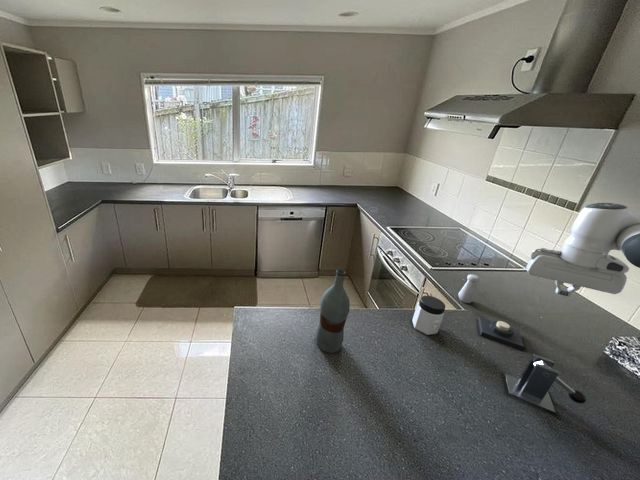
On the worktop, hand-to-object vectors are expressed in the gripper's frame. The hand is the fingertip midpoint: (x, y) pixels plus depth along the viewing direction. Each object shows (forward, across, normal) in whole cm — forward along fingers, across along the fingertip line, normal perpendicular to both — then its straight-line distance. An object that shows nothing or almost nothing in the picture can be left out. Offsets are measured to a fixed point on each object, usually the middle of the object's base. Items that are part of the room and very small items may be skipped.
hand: (561, 294), depth 88 cm
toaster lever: (+18, -1, -21) cm, 28 cm away
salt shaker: (+25, -19, +23) cm, 38 cm away
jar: (+24, -33, -7) cm, 41 cm away
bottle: (+24, -60, -38) cm, 75 cm away
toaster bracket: (+25, -5, -21) cm, 33 cm away
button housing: (+25, -9, +5) cm, 27 cm away
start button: (+21, -9, +5) cm, 23 cm away
